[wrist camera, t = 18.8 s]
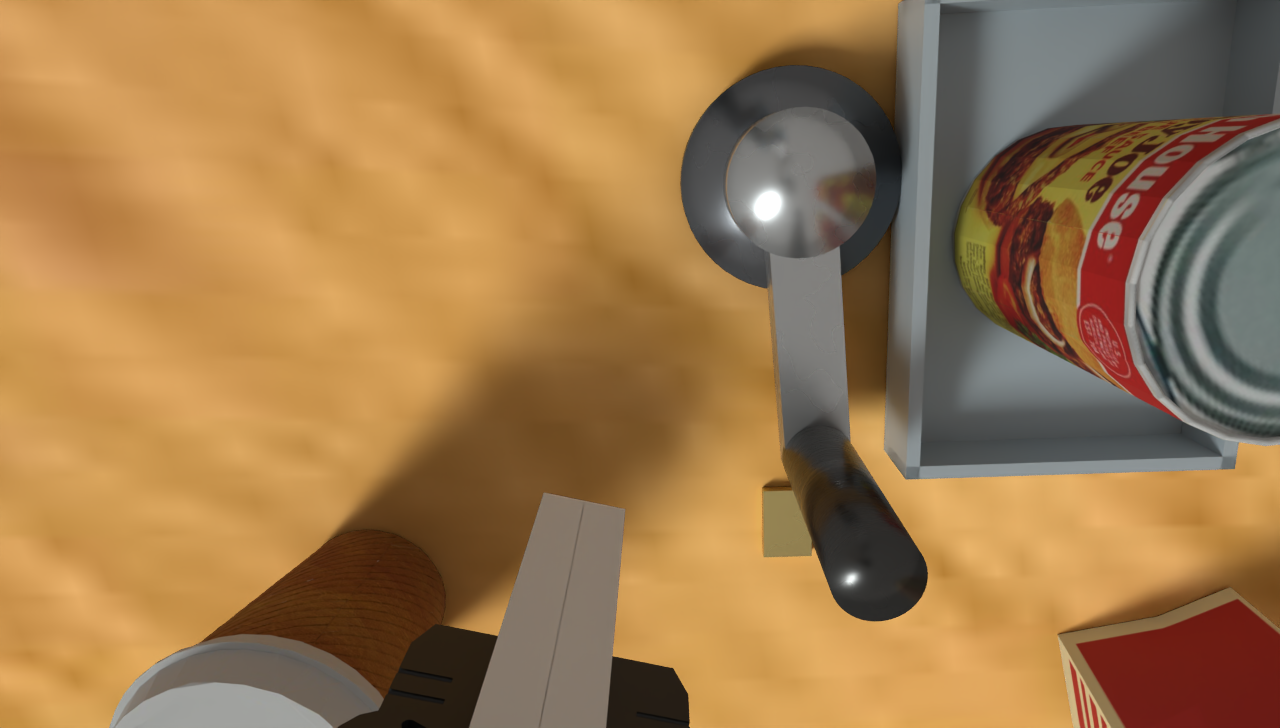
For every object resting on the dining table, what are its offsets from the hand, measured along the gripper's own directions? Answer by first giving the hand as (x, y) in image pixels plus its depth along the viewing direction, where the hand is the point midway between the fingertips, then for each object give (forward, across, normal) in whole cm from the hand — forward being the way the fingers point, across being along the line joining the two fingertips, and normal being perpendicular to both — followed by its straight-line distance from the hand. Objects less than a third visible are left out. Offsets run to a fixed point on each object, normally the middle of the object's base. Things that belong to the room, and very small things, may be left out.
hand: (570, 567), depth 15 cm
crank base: (+19, +5, +7) cm, 20 cm away
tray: (+18, +15, +7) cm, 25 cm away
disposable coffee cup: (+19, -8, -14) cm, 25 cm away
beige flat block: (+18, +9, -6) cm, 21 cm away
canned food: (+18, +15, +7) cm, 25 cm away
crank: (+17, +6, +3) cm, 18 cm away
